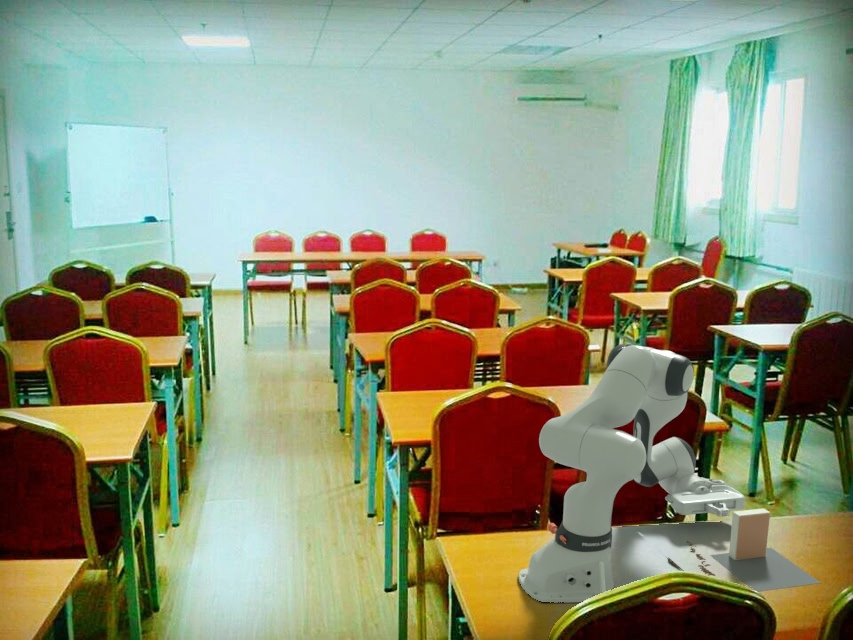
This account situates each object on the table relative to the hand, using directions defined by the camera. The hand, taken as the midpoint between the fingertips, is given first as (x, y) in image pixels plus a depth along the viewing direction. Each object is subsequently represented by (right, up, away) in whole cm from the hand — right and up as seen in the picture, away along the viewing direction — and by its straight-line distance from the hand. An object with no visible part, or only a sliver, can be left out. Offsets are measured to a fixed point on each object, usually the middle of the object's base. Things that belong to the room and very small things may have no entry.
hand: (724, 513), depth 208 cm
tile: (+2, -9, -8) cm, 12 cm away
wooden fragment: (-13, -10, -8) cm, 18 cm away
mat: (+4, -10, -14) cm, 18 cm away
